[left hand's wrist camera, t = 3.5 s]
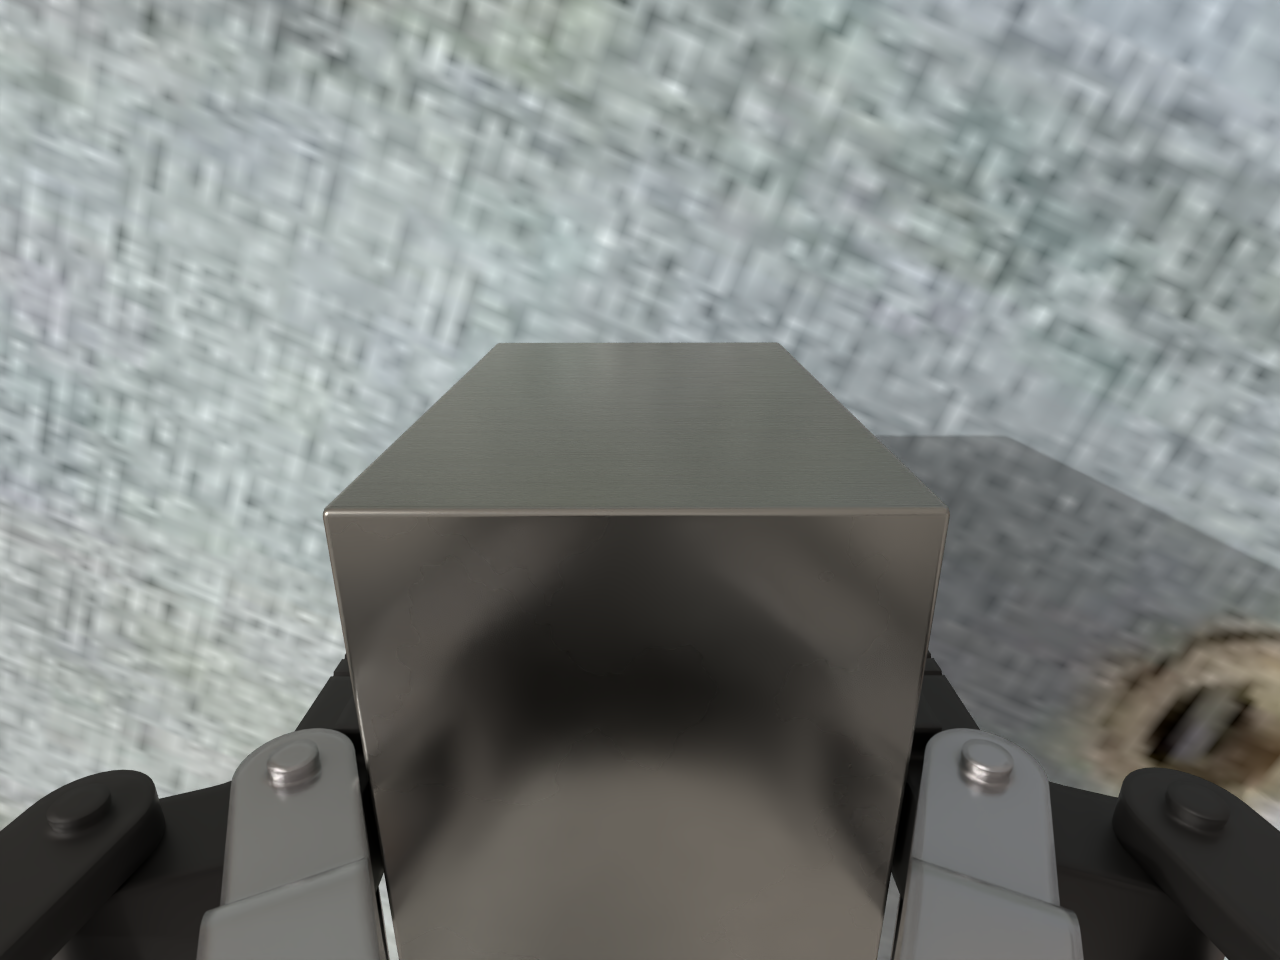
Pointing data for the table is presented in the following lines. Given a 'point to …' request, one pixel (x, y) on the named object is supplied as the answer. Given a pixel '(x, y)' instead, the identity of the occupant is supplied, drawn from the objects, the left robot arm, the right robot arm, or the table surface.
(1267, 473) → the table surface
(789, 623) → the bar
